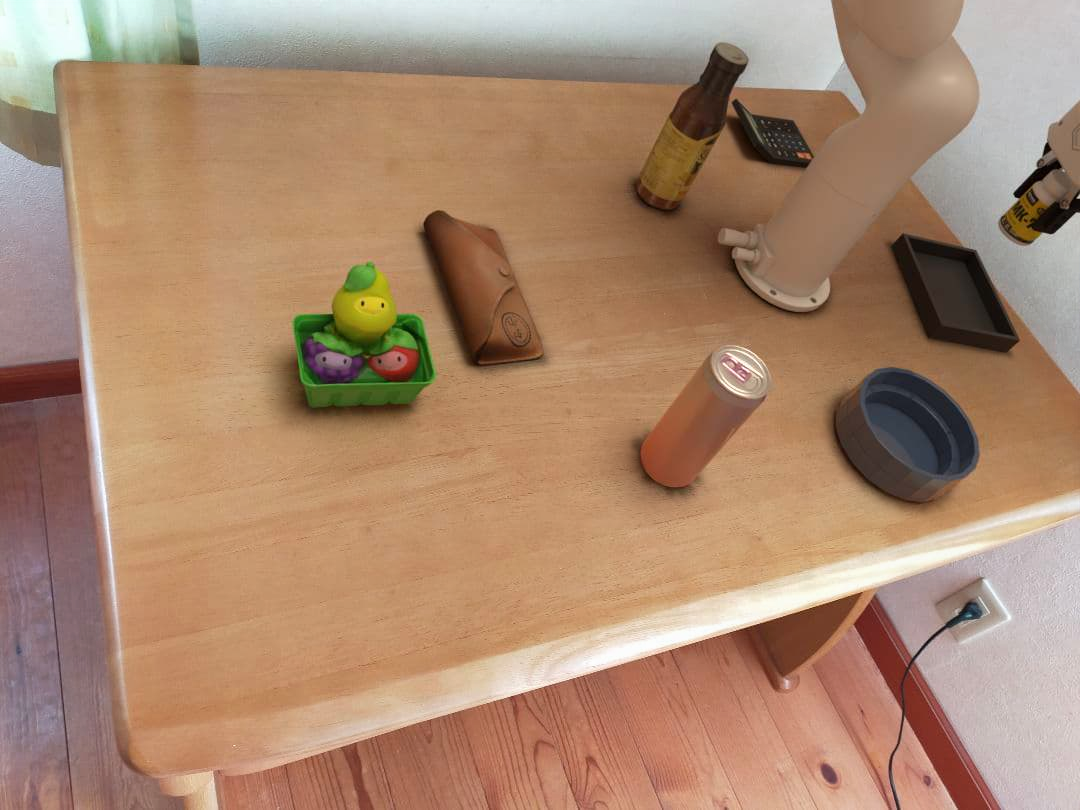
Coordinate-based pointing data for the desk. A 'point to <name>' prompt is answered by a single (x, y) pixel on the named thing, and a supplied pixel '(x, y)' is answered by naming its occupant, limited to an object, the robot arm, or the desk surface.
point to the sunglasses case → (483, 291)
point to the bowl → (907, 434)
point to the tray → (954, 294)
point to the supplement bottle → (1033, 207)
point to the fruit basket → (362, 347)
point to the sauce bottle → (691, 130)
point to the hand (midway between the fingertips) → (1033, 213)
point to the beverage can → (705, 415)
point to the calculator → (775, 138)
